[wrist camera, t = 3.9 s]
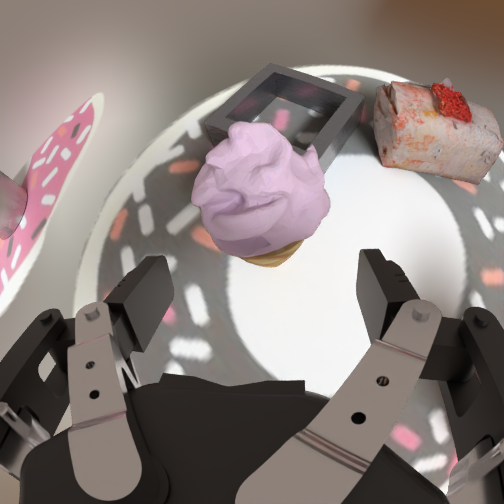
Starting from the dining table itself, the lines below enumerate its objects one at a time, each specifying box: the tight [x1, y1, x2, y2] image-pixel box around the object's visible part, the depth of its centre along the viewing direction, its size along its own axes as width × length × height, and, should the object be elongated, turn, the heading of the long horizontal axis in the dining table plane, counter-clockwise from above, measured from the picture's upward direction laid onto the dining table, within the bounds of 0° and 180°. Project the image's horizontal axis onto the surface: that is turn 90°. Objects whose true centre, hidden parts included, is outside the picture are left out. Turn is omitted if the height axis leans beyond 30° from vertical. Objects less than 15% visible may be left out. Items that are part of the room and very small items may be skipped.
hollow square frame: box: [204, 63, 365, 174], centre depth 27 cm, size 12×12×4 cm
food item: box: [373, 78, 503, 185], centre depth 21 cm, size 14×8×10 cm, turn 82°
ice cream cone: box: [191, 121, 330, 267], centre depth 17 cm, size 7×6×15 cm
